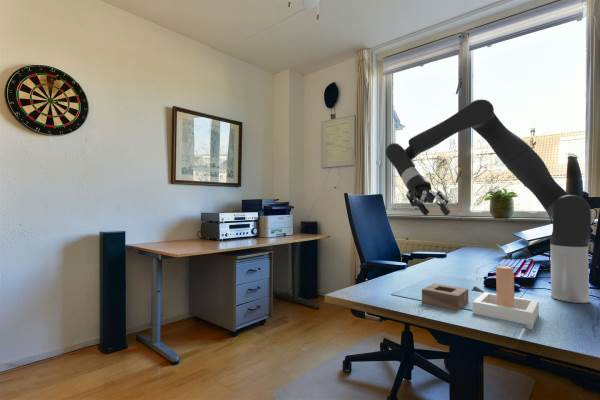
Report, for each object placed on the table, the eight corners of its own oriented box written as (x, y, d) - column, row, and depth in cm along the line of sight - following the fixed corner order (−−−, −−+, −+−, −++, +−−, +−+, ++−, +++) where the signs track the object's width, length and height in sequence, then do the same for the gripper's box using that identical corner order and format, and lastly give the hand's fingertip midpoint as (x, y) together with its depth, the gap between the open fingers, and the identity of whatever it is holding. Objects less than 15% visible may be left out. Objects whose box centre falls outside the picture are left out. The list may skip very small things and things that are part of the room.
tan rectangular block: (498, 309, 88) (497, 265, 88) (515, 312, 85) (514, 267, 85) (495, 312, 85) (494, 268, 85) (513, 316, 82) (512, 269, 82)
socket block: (434, 299, 101) (434, 283, 101) (468, 305, 94) (468, 288, 94) (421, 306, 93) (421, 289, 93) (458, 314, 86) (458, 295, 86)
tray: (484, 305, 94) (484, 292, 94) (538, 315, 85) (538, 300, 85) (472, 316, 84) (472, 301, 84) (532, 329, 76) (532, 312, 76)
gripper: (403, 173, 112) (425, 205, 101) (436, 174, 116) (461, 206, 105) (394, 188, 117) (414, 221, 106) (426, 189, 121) (448, 221, 110)
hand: (437, 213), depth 105 cm, fingers open, 8 cm apart
